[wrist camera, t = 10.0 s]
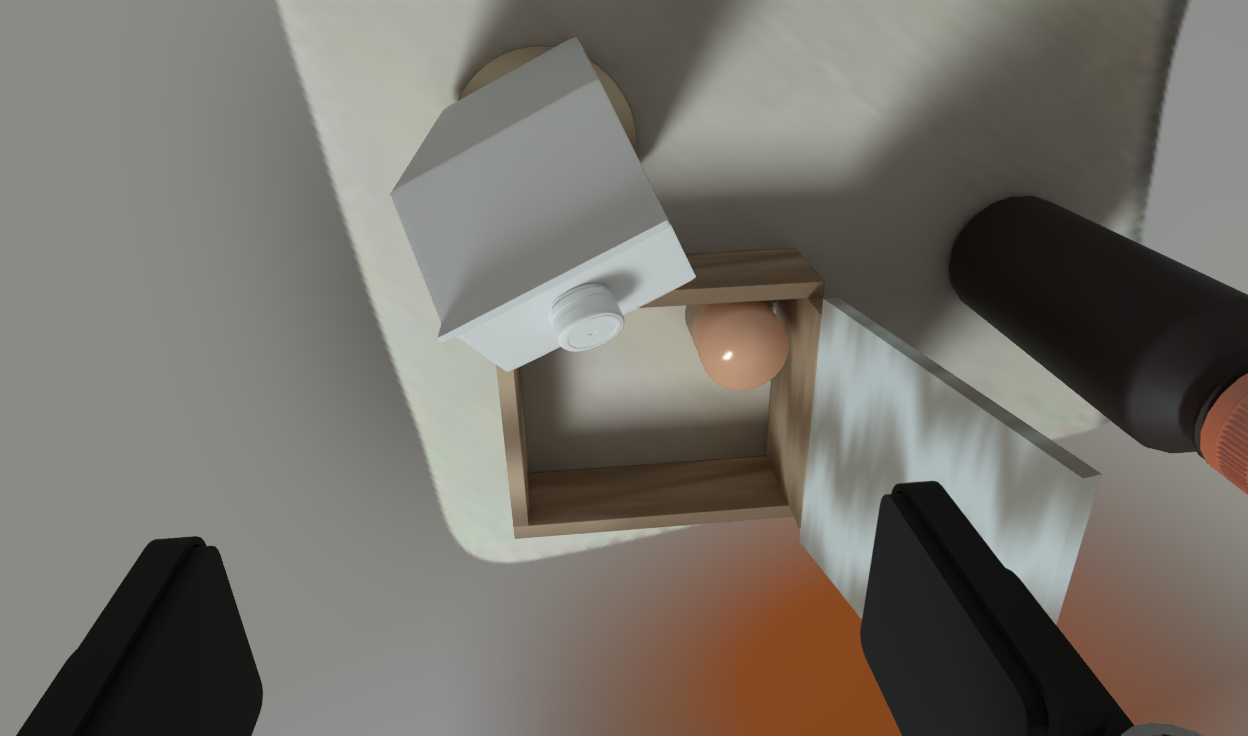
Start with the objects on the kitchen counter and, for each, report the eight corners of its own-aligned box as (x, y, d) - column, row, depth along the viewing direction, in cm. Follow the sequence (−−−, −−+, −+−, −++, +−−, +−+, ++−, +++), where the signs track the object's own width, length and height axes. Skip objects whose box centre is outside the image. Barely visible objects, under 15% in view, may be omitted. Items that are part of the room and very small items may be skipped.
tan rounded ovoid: (685, 277, 43) (702, 313, 39) (765, 272, 43) (791, 307, 39) (684, 350, 45) (701, 393, 41) (761, 345, 45) (785, 386, 41)
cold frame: (494, 264, 42) (457, 527, 22) (850, 245, 43) (1105, 476, 24) (516, 485, 48) (503, 837, 29) (826, 462, 49) (1011, 783, 30)
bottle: (930, 231, 43) (1205, 421, 25) (1050, 170, 42) (1422, 322, 24) (965, 330, 46) (1232, 561, 28) (1077, 275, 45) (1426, 479, 27)
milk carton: (441, 109, 37) (362, 231, 20) (576, 34, 36) (608, 98, 20) (518, 238, 40) (505, 436, 24) (643, 172, 40) (722, 330, 23)
